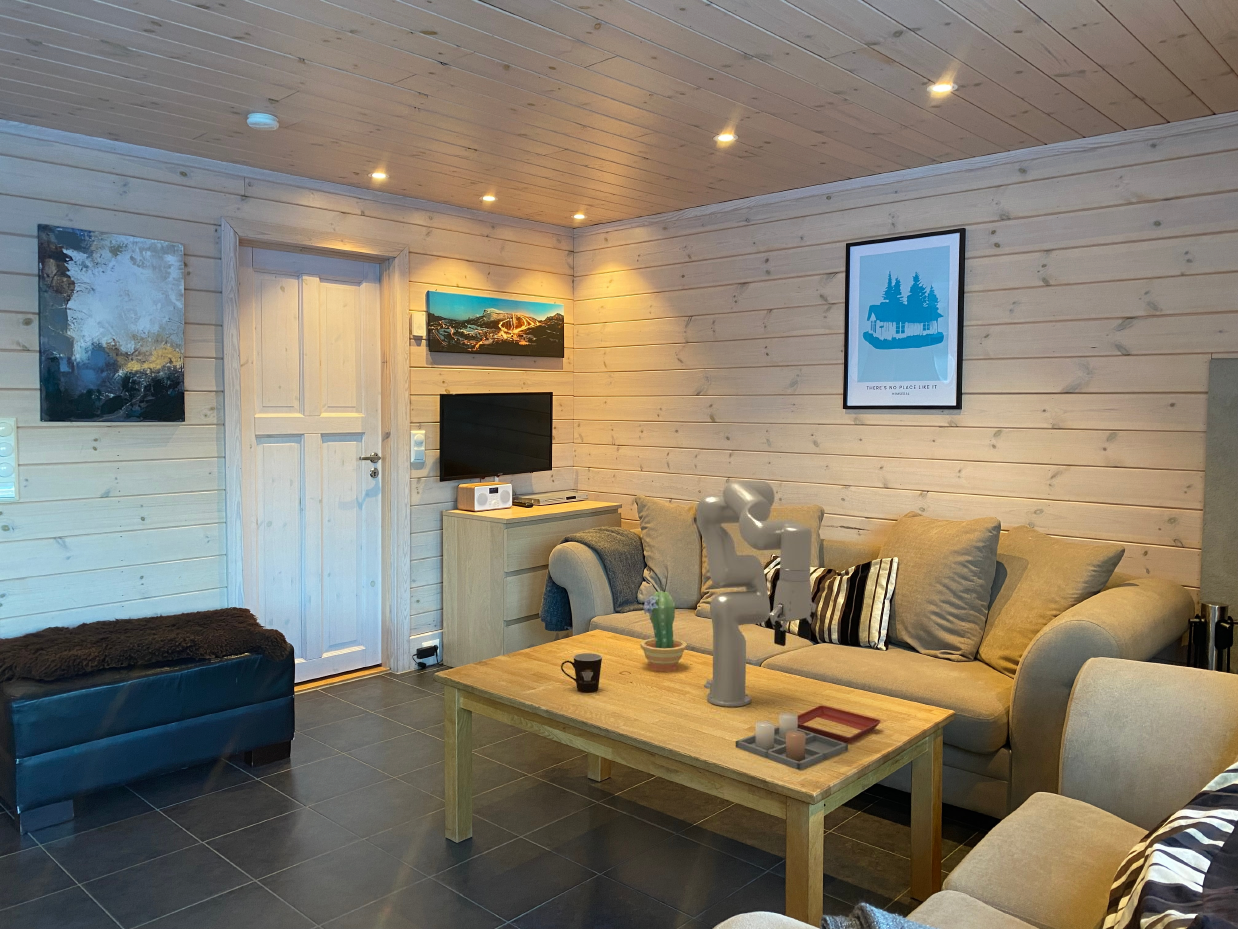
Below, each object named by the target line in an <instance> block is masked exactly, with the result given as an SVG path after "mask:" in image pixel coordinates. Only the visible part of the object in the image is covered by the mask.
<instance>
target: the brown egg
mask: <svg viewBox="0 0 1238 929" xmlns="http://www.w3.org/2000/svg"><path fill="white" fill-rule="evenodd" d="M805 739H806V734H805V733H803V732H801V731H788V732H786V757H787V758H789V759H792V760H795V761H798V762H800V761H802V760H805Z"/></svg>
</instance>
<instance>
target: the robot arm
mask: <svg viewBox="0 0 1238 929" xmlns="http://www.w3.org/2000/svg"><path fill="white" fill-rule="evenodd" d="M775 497H776V496H775V491H774V488H773V487H772V486H771V484H770V483H769V482H767V481H765V480H735V481H731V482H730V483H728V484H727V485H726V486H725V487H724V488H723V490H722V494H711V495H708V496H705V497H702V498H701V499H700V500H699V501H698V502H697V505H696V510H695V511H696V514H695V515H696V522H697V526H698V529H699V532H700V535H701V536H702V539H703V541H704V546H705V551H706V552H705V553H706V558H707V564H708V565H707V566H708V571H709V576H710V581H711V583H712V584H713V586H714V587H716V588H718V589H735V588H737V589H738V588H745V590H746V591H745V590H744V591H727V592H721V593H718V594H716V595H714V596H713V597H712V598H711V600H710V604H709V610H710V611H709V612H710V618H711V624H712V679H707V680H706V681H705V683H704V684H703V687H704V688H705V689H709V693H708V694H707V695H706V700H707V702H708V703H710V704H713V705H716V706H720V707H734V708H735V707H736V708H737V707H742V706H743V707H744V706H746V705H749V703H751V695H749V694H747V693H746V678H747V676H746V674H747V672H746V670H747V669H746V668H747V667H746V666H747V640H746V637H745V635H744V634H743V632H742V631H741V630H740V628H739V626H745V625H755V624H764V623H765V622H767V621H768V619H770V624H771V625H772V628H773V629H774V633H773V634H774V637H773V638H774V639H773V643H774V644H775V645H777V646H780V647H781V646H782V647H785V646H786V640H787V630H786V627H787V625H788V623H791V622H795V621H799V620H800V621H799V622H798V638H801V639H804V640H807V641H808V640H810V639H811V624H813V618H814V616H815V611H816V608H817V604H816V603H815V602H812V585H811V567H812V566H811V564H812V563H811V561H812V543H813V542H812V541H813V540H812V539H813V538H812V537H813V533H812V532H813V531H812V530H811V528H810V527H808V526H806V525H801V524H800V523H799V522H798V521H795V520H792V519H791V520H789V519H786V520H783V519H782V520H769V517H770V516H771V512H772V511H771V509H772V506H773V505H774V502H775ZM722 524H738V530H739V534H740V536H741V538H742V539H743V541H744V542H746V544H747V545H749V547H751V548H753V549H754V550H756V551H777V550H779V551H780V556H779V559H780V560H779V579H778V580H777V583H776V587H775V592H774V599H773V600H774V601H773V608H772V609H773V610H772V611H771V604H770V597H769V591H768V587H767V580H766V576H765V575H766V574H765V570H764V569H765V568H764V566H763V564H762V562H761V560H760V559H759V558H758V557H757V556H756V555H754V554H738V553H737V551H736V547H735V542H734V538H733V537H732V535H731V533H730V532H729V531H728V530H727V529H726V528H725V527H724V526H723V525H722Z"/></svg>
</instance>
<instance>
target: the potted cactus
mask: <svg viewBox="0 0 1238 929" xmlns="http://www.w3.org/2000/svg"><path fill="white" fill-rule="evenodd" d="M644 602H645V603H644V604H643V610H644V615H646V614H648V615H649V620H650V623H651V625H652V628H653V634H654V638H649V639H644V640H642V641H641V642H640V643H639V646H640V649H642V651H643V654H644V656H645V659H646V660H647V662H648V663H649V669H650V670H652V671H655V672H663V673H664V672H672V671H676V670H677V669H678V666H677V664H678V663H679V662H680V660H681V659H682V657H683V654H684V652H685V651H686V650H687V647H688V643H686V642H685V641H683V640H680V639H677V638H674V628H673V624H674V622H675V618H676V616H675V615H676V605H675V601H674V599H673V598H672V595H671V594H669V592H668V591H666V590H665V592H664V591H662V590H661V591H655V593H654V594H653V595H652V596H650V597H648V598H647V599H646V600H645V601H644Z"/></svg>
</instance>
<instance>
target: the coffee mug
mask: <svg viewBox="0 0 1238 929" xmlns="http://www.w3.org/2000/svg"><path fill="white" fill-rule="evenodd" d="M602 660H603V656H602V655H601V654H599V653H592V652H590V653H588V652H586V653H585V652H584V653H577V654H574V655H573V661H571V660H565V661H563V662H562V663H561V665H560V669H561V672H563V673H564V675H565V676H567V677H568V678H569V679H571V680H573V681H574V682H575V684H576V690H577V692H579V693H581V694H582V693H583V694H592V693H597V692H598V691H599V688H600V687H599V685H600V678H601V668H602ZM565 664H570V665H571V666H572V667H573V669H574V676H575V677H574V676H572V675H570V674H569V673H567V672H566V671H565V670H564V668H563V667H564V665H565Z"/></svg>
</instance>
